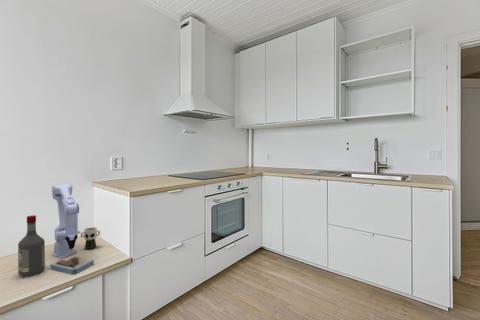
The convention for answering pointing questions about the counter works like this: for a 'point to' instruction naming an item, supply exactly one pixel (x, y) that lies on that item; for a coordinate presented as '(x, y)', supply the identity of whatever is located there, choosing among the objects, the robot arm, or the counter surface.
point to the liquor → (31, 251)
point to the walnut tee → (69, 262)
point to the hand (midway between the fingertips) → (71, 248)
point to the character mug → (90, 237)
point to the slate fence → (70, 269)
